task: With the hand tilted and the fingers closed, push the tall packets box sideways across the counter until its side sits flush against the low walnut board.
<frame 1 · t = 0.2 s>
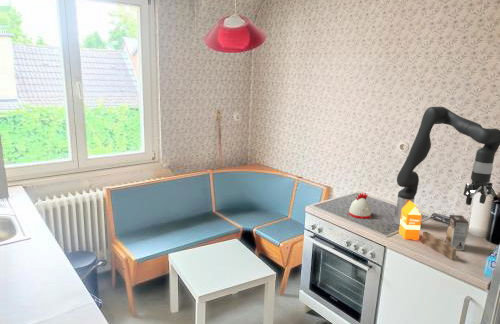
hand: (475, 203, 163), 29 cm above the countertop, tool pointing down, fingers open, 8 cm apart
kitchen timer: (359, 215, 225), on the countertop
coffee box: (454, 246, 183), on the countertop
orange juice: (408, 236, 194), on the countertop
walnut board: (437, 250, 178), on the countertop
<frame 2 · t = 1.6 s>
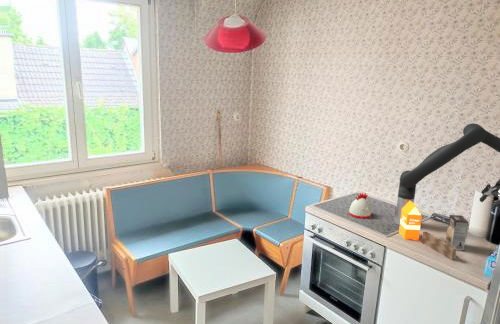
hand: (487, 203, 182), 23 cm above the countertop, tool tilted 45°, fingers open, 7 cm apart
nothing on the countertop moved.
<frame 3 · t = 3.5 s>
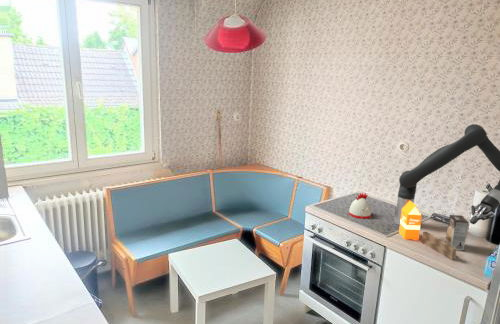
hand: (471, 223, 183), 12 cm above the countertop, tool tilted 45°, fingers closed
nothing on the countertop moved.
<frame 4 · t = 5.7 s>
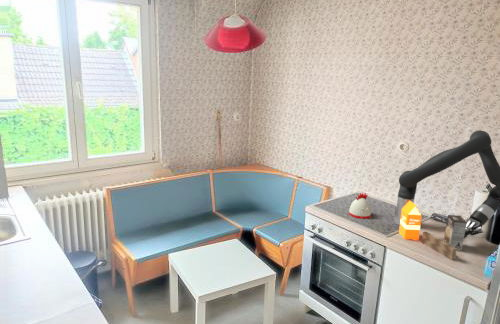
hand: (460, 238, 183), 4 cm above the countertop, tool tilted 45°, fingers closed
coffee box: (452, 246, 183), on the countertop, touching gripper
everything else where it was.
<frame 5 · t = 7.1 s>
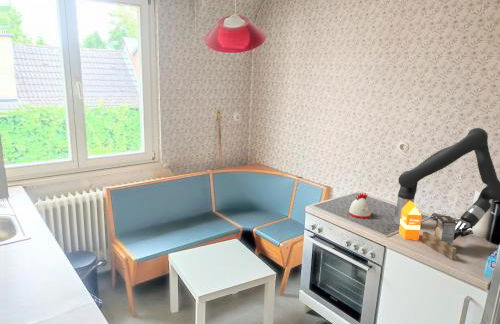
hand: (450, 239, 181), 4 cm above the countertop, tool tilted 45°, fingers closed
coffee box: (442, 247, 182), on the countertop, touching gripper
everything else where it was.
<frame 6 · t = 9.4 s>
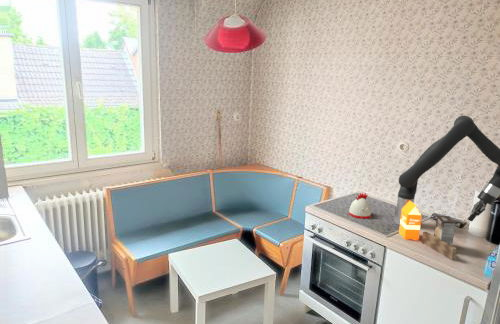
hand: (469, 220, 185), 13 cm above the countertop, tool tilted 30°, fingers closed
coffee box: (441, 247, 182), on the countertop
everything else where it was.
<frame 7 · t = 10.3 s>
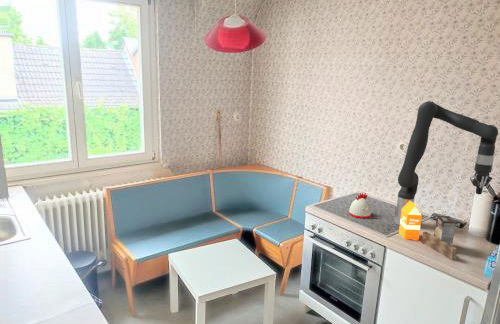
hand: (478, 193, 185), 27 cm above the countertop, tool pointing down, fingers closed
nothing on the countertop moved.
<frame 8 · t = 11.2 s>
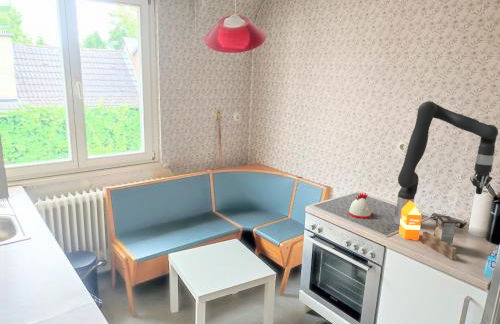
hand: (478, 193, 185), 27 cm above the countertop, tool pointing down, fingers closed
nothing on the countertop moved.
at the end: coffee box inside the target area on the countertop beside the walnut board (0.8 cm from its centre), on the countertop; coffee box tilted 0° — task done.
